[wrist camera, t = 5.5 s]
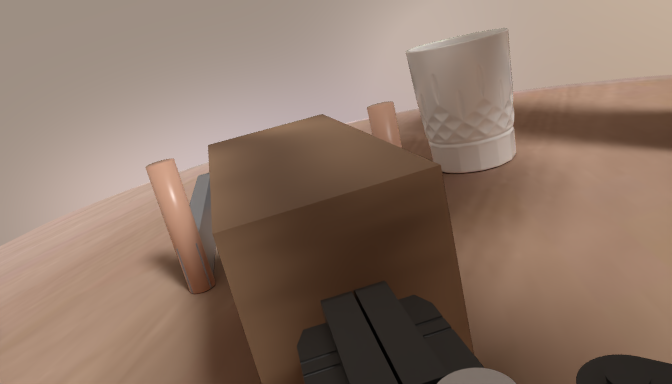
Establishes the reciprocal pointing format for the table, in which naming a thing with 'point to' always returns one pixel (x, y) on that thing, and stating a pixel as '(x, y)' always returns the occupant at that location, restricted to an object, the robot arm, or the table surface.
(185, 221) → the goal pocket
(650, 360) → the robot arm
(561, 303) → the table surface
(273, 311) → the walnut block
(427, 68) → the white cup
